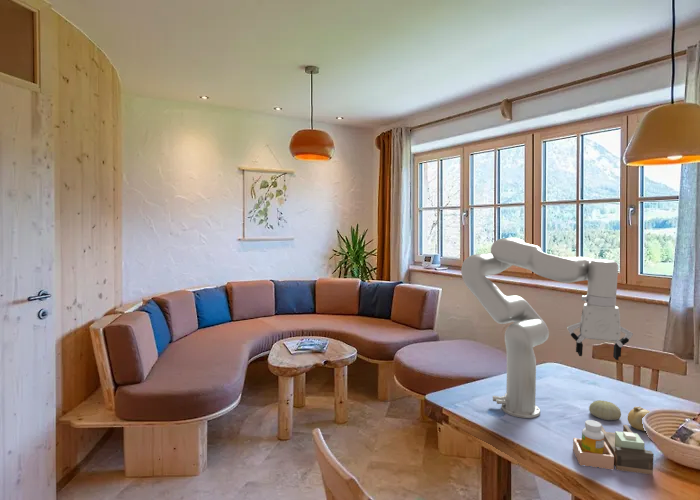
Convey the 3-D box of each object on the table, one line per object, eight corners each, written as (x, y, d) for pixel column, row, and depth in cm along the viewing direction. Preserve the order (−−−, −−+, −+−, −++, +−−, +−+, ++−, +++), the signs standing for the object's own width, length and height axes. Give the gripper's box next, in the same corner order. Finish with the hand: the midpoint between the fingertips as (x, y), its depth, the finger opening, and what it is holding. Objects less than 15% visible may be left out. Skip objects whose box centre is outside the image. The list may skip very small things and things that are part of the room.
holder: (579, 465, 117) (580, 452, 117) (572, 449, 125) (573, 437, 125) (613, 469, 115) (614, 456, 115) (604, 453, 123) (605, 441, 123)
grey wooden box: (652, 474, 113) (653, 454, 112) (616, 469, 115) (617, 449, 115) (626, 437, 132) (627, 420, 131) (595, 434, 134) (596, 416, 134)
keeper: (643, 465, 115) (644, 440, 114) (620, 462, 116) (621, 437, 116) (636, 454, 120) (637, 430, 119) (614, 451, 121) (615, 428, 121)
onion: (643, 422, 142) (644, 401, 142) (664, 434, 134) (665, 412, 134) (621, 424, 141) (622, 403, 140) (641, 436, 133) (642, 413, 133)
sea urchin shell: (591, 401, 154) (609, 390, 150) (608, 422, 150) (627, 411, 146) (582, 409, 148) (601, 398, 143) (600, 431, 144) (620, 420, 140)
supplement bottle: (576, 453, 122) (577, 419, 122) (592, 450, 123) (594, 417, 123) (591, 463, 117) (592, 428, 116) (608, 461, 118) (609, 426, 117)
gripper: (571, 301, 128) (567, 357, 130) (638, 305, 123) (634, 364, 124) (567, 296, 135) (564, 349, 137) (630, 300, 130) (627, 356, 131)
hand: (597, 356), depth 130 cm, fingers open, 9 cm apart
